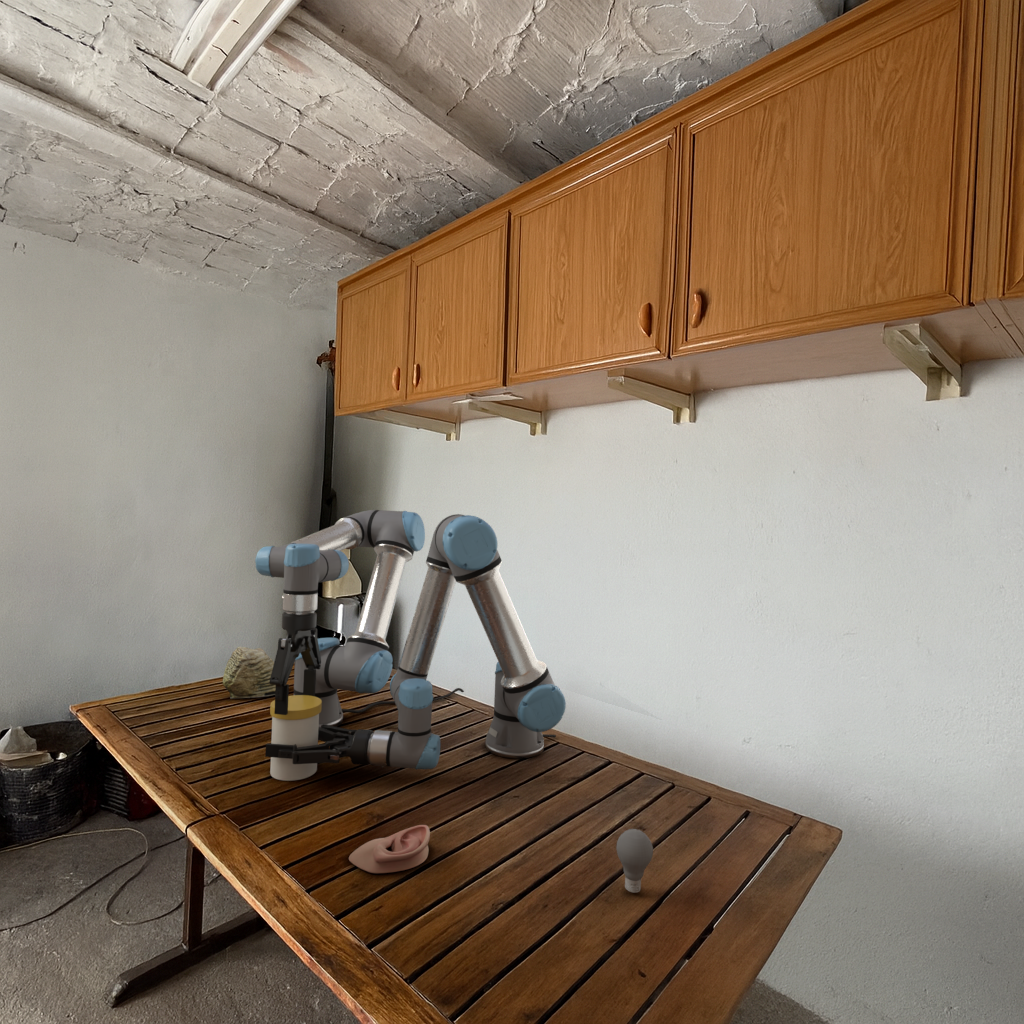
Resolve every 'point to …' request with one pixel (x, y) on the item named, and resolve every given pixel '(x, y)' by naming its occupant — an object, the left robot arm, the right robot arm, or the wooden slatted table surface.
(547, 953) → the wooden slatted table surface
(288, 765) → the jar
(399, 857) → the anatomical model
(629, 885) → the light bulb
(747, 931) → the wooden slatted table surface
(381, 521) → the left robot arm
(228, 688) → the fossil
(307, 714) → the lid
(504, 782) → the wooden slatted table surface
